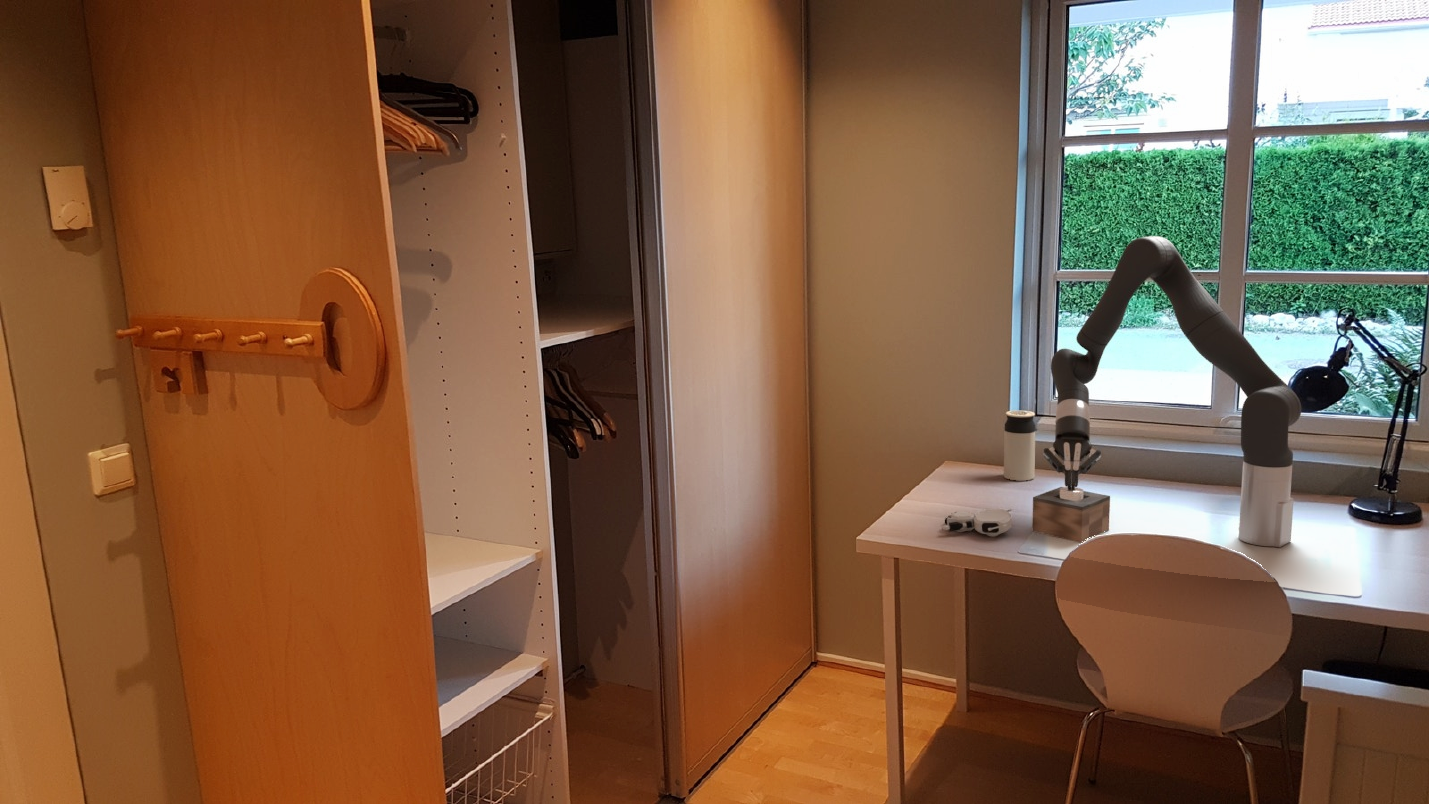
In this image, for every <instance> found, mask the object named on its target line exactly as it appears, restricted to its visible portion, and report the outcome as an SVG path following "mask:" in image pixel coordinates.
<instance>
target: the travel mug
mask: <svg viewBox="0 0 1429 804" xmlns="http://www.w3.org/2000/svg"><path fill="white" fill-rule="evenodd" d="M1005 415H1006V418H1007V419H1006V421H1005V423H1004V436H1003V438H1004V440H1003V441H1004V442H1003V443H1004V444H1003V445H1004V446H1003V448H1004V450H1003V477H1004V478H1005V479H1006V480H1009V479H1010V481H1013V480H1016V482H1027V481H1026V480H1028V481H1031V480H1033V479H1035V467H1036V466H1035V464H1036V463H1035V461H1036V460H1035V459H1036V457H1035V456H1036V424H1035V421H1034V416H1035V415H1036V414H1035V412H1033V411H1030V410H1021V409H1020V410H1009V411H1008V410H1007V411H1006V412H1005Z"/></svg>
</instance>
